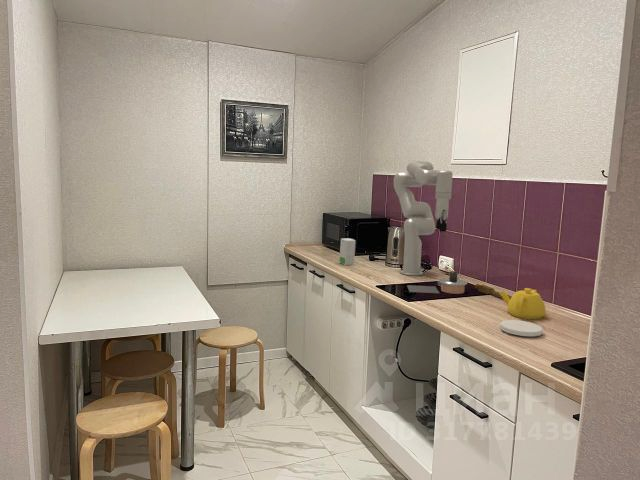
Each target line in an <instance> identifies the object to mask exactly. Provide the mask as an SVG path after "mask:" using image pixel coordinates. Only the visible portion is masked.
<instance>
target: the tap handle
mask: <svg viewBox="0 0 640 480" xmlns="http://www.w3.org/2000/svg"><path fill="white" fill-rule="evenodd" d="M474 289H475V290H477V291H478V292H480V293H483V294H485V293H486V295H488V294H490V295H489V296H495V297H496V298H498V299H502V301H504V299H503V298H502V296H501V295H500V291H496V290H495V289H494V288H493V287H491V286H489V285H485V284H479V283H475V285H474ZM507 295H508V297H509V298H510V299H511V298H512V296H513V295H509V294H507Z"/></svg>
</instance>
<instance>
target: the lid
mask: <svg viewBox="0 0 640 480" xmlns="http://www.w3.org/2000/svg"><path fill="white" fill-rule="evenodd" d="M458 273H459V272H458V271H454V270H450V271H449V277H448V278H447V277H445V278H440V279H439V280H438V283H439V284H440V285H441V284H445V285H450V286H467V285H468V281H466V280H464V279H459V278H458V275H459V274H458Z"/></svg>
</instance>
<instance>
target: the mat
mask: <svg viewBox="0 0 640 480" xmlns="http://www.w3.org/2000/svg"><path fill="white" fill-rule="evenodd" d="M406 287H407V289H408V291H409V293H423V294H424V293H426V294H427V293H428V294H440V291H439V290H438V288H437V287H436V286H431V285H428V286H427V285H412V284H411V285H410V284H409V285H406Z"/></svg>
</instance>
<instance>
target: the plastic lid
mask: <svg viewBox="0 0 640 480" xmlns="http://www.w3.org/2000/svg"><path fill="white" fill-rule="evenodd" d="M499 328H500V330H501V331H504V332H505V333H508V334H511V335H515V336H521V337H538V336H541V335H542V334H543V327H542V326H541V325H538V324H536V323H534V322H530V321H525V320H520V319H519V320H518V319H517V320H516V319H515V320H514V319H508V320H503V321H500V324H499Z"/></svg>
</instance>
